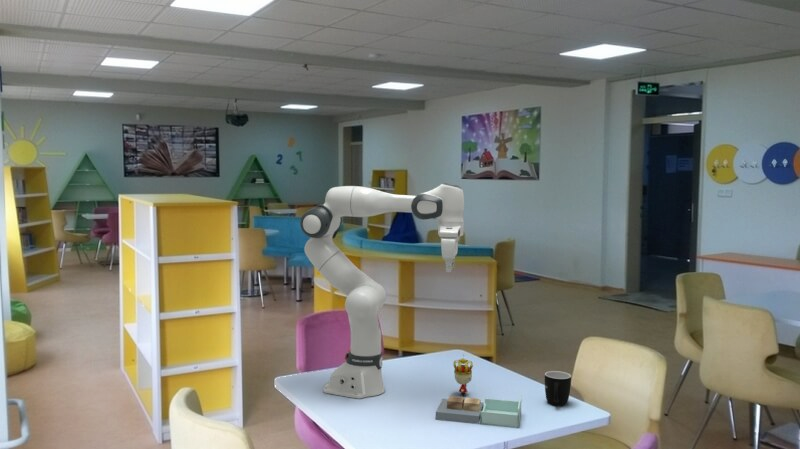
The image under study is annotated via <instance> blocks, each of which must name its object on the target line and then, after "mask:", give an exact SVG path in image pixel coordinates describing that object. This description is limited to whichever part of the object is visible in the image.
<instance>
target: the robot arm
mask: <svg viewBox="0 0 800 449" xmlns="http://www.w3.org/2000/svg"><path fill="white" fill-rule="evenodd" d="M464 211H465V194H464V191H463V188H462V187H461V186H459V185H457V184H454V183H447V182H443V183H441V184H440V185H438V186H436V187H435V188H432V189H431V190H428V191H425V192H421V193H419V194H417V195H409V194H406V195H405V194H396V193H395V194H393V193H389V192H385V191H382V190H378V189H374V188H372V187H368V186H367V187H366V186H357V185H344V186H343V185H342V186H334V187H331V188H329V190H328V191H327V192H326V195H325V200H324V203H323V204H322V203H321V204H317V205H316V206H314V207H312V208H309V209H307V211H305V212H304V213H303V214H302V216H301V218H300V224H299V225H300V230H301V231H302V232H303V233H304V235H306V236H307V237H309V239H308V240H307V241H306V243H305V245H304V248H303V251H304V254H305V256H306V257H307V259H308V261H310V263H311V264H312V266H314V268H315V269H316V270H317V272H319V273H320V275H321V276H322V277H323V278H324V279H325V280H326V281H327V282H328V283H329V284H330V285H331V287H333V288H334V289H337V290H338V291H340V292H342V293H343V294H345V296H346V299H345V302H344V309H345V311H346V313H347V318H348V322H349V323H348V324H349V328H350V349H349V350H348V351H347V352H346V353H345V355H344V358H343V359H344V360H345V361H344V362H343V363H341V365H339V366H337V367H336V368H335V369H334V370H333V371H332V372H331V374H330V377H329V381H328V382H327V383H326V384H325V385H324V386H323V388H322V391H323V393H324V394H329V395H336V396H342V397H347V398H352V399H358V400H359V399H364V398H368V397H374V396H379V395H382V394H384V392H385V391H386V389H385V386H384V380H383V372H382V368H383V352H382V330H381V328H380V323H379V317H378V315H379V314H378V312H379V310H380V309H381V308H382V307H383V306H384V304H385V301H386V298H387V297H386V296H387V293H386V292H387V291H386V289H385V288H384V287H383V285H382V284H380V283H378V282H376V281H375V280H373V279H372V278H371V276H368V275H367V274H366V273H365V272H364V271H362V270H361V269H359V268H358V267H357V266H356V265H355V264H354V263H353V262H352V261H351V260H350V259H349V258H348V257H347V256H346V254H345V253H343V251H342V250H341V249H340V248H339V247H338V246H337V245H336V244H335V243H334V240H333V239H335V238H336V236H337V234H338V232H339V230H340V229H341V228H342V227H341V226H342V225H343V217H355V218H368V217H374V216H379V215H382V214H386V213H395V212H396V213H412V215H413V216H414V217H416V218H417V219H419V220H421V221H430V220H437V221H438V222H437V235H438V236H439V238H440V247H441V248H440V250H441V258H442V260H444V262H445V272H446V273H452V269H454V268H455V257H456V256H457V254H458V251H459V250H458V247H459V241H460V237H462V236H464V227H465V226H464V225H465V222H464Z"/></svg>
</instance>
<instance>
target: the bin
mask: <svg viewBox="0 0 800 449" xmlns="http://www.w3.org/2000/svg"><path fill="white" fill-rule="evenodd" d="M521 416H522V395H519V399H518V401H517V400H510V399H509V400H506V399H497V398H485V399H484V408H483V411H481V419H480V422H479V424H480V425H487V426H497V427H508V428H514V429H515V428H516V429H518V428H519V427H520V422H521Z"/></svg>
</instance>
